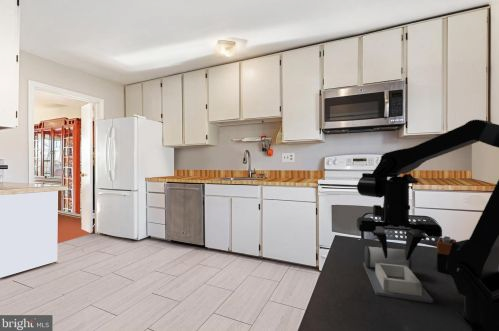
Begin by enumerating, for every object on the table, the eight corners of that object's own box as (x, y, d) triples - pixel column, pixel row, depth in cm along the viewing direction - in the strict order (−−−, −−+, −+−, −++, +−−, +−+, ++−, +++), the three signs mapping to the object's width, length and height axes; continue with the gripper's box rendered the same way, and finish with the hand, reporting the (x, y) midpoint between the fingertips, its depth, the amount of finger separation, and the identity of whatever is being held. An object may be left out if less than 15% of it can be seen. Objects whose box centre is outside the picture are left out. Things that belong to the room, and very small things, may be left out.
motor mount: (433, 303, 58) (433, 273, 58) (376, 296, 61) (376, 267, 61) (405, 269, 77) (405, 246, 77) (363, 264, 80) (363, 243, 80)
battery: (436, 271, 75) (436, 238, 75) (438, 265, 80) (438, 234, 80) (455, 276, 72) (455, 241, 72) (456, 268, 77) (456, 236, 77)
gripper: (424, 197, 71) (424, 252, 71) (354, 195, 76) (354, 246, 76) (443, 203, 60) (443, 267, 60) (359, 200, 65) (359, 259, 65)
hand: (396, 258), depth 66 cm, fingers open, 5 cm apart
